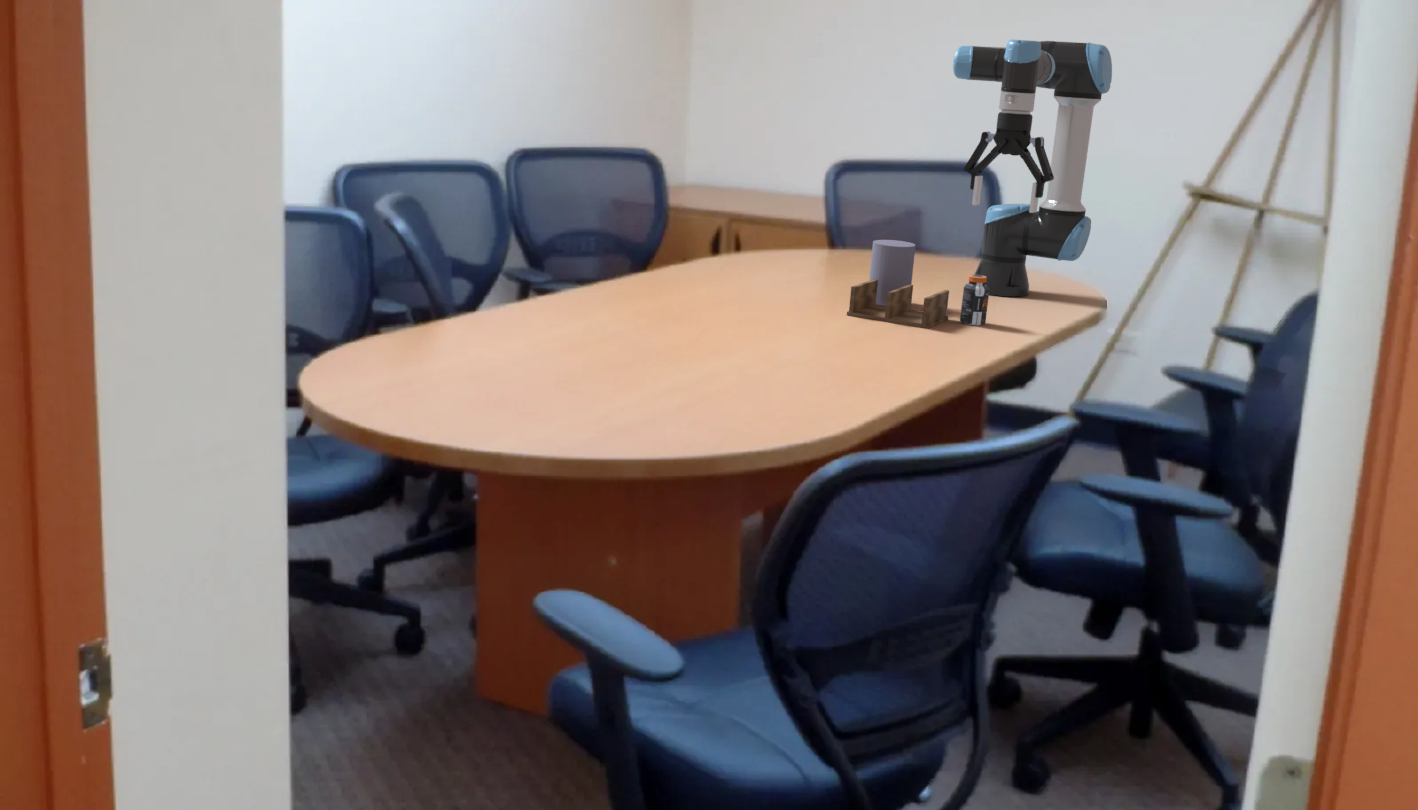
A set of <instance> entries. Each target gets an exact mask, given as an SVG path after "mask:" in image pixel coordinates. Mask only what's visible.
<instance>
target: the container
mask: <svg viewBox="0 0 1418 810" xmlns="http://www.w3.org/2000/svg"><path fill="white" fill-rule="evenodd" d="M915 253H916V244H915V243H914V242H908V241H904V240H897V239H896V240H895V239H876V240H873V241H872V249H871V261H870V269H869V279H868V281H870V280H873V279H877V280H878V287H877V297H876V304H878V305H884V306H886V300H887V292H890V291H893V290H896V289H898V288H901V287H904V286H907V285H913V284H912V283H913V274H914V265H915V263H914V262H915Z"/></svg>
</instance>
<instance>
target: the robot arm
mask: <svg viewBox="0 0 1418 810" xmlns="http://www.w3.org/2000/svg"><path fill="white" fill-rule="evenodd" d="M952 69H953V70H952V71H953V74H954V76H955V77H956V78H957V79H959V80H960V79H961V80H967V81H969V80H970V81H979V82H980V81H982V82H998V83H1001V86H1000V95H999V102H998V103H999V104H998V109H999V110H1000V112H999V113H997V119H996V131H995V133H992V132H990V131H983V132H982V133H981V136H980V141H979V143H978V144H977V145H976V148H975V149H974V151H973V153H972V154H971V156H970V158H969V159H968V161H967V163H966V164H965V166H964V168H963V171H964V172H967V173H969V174H970V175H971V176H970V178H971V179H970V187H969V188H970V190H973V192H972V200H971V201H972V202H971V205H972V206H979V205H980V204H981V203H980V202H981V196H982V189H983V178H984V176H983V175H981V174H982V172H983V171H984V170H986V168H987V167H988V166H989V165H990V164H991V163H992V162H993V161H994V160H995V159H996V158H997V157H998V156H999V155H1001V154H1002V155H1005V156H1006V155H1010V156H1020V158H1021V159H1022V161H1023V162H1024V163H1025V165H1026V167H1027V168H1028V170H1029V172H1030V173H1031V175H1032V176H1033V178H1034V179H1035V182H1032V186H1031V187H1032V188H1031V194H1030V202H1029V203H1006V204H1005V203H1003V204H996V205H991V206H990V207H988V208H987V210H986V216H985V221H984V223H983V224H984V227H983V229H984V230H983V236H982V246H981V255H980V261H979V263H978V265H977V267H976V270H975V272H974V274H973V275H982V276H986V277H987V280H986V285H987V286H988V287H989V296H999V297H1025V296H1028V295H1029V292H1030V282H1029V277H1028V272H1027V268H1026V262H1027V256H1030V257H1035V258H1044V259H1050V260H1051V259H1052V260H1057V261H1067V262H1073V261H1077V260H1078V259H1080V257H1081V256H1082V254H1083V252H1084V250H1085V249H1086V246H1087V243H1088V240H1089V237H1090V233H1091V228H1092V219H1091V218H1090V217H1089V216H1086V211H1087V209H1086V207H1085V206H1084V205H1083V204H1082V194H1083V187H1084V182H1085V181H1084V180H1085V175H1086V174H1085V172H1086V166H1087V158H1088V151H1089V145H1090V144H1089V143H1090V138H1091V137H1090V136H1091V131H1092V130H1091V128H1092V122H1093V116H1094V115H1093V114H1094V108H1095V106H1096V105H1097V104H1099V102H1101V100H1102V94H1103V95H1104V94H1107V93H1108V92H1109V91H1110V88H1111V83H1112V79H1113V77H1112V76H1113V65H1112V57H1111V53H1110V51H1109V49H1108V48H1107V46H1106V45H1103V44H1097V43H1092V42H1074V41H1073V42H1072V41H1054V40H1041V41H1037V40H1026V39H1025V40H1024V39H1009V40H1008V41H1007V43H1006V47H1005V46H1003V47H1002V46H980V45H979V46H977V45H960V46H958V48H957V49H956V50H955V53H954V56H953V62H952ZM1037 88H1040V89H1041V88H1042V89H1047V90H1048V89H1049V90H1054V91H1053V98H1054V100H1055V101H1056V102H1057V103H1058V106H1057V107H1058V109H1057V114H1056V115H1057V116H1056V121H1055V122H1056V123H1055V132H1054V137H1053V138H1054V139H1053V145H1052V152H1051V161H1049V159H1048V156H1047V152H1046V149H1045V138H1044V137H1043V136H1037V137H1031V133H1032V132H1031V131H1032V125H1033V114H1031V113H1032V112H1034V111H1035V109H1034V108H1035V99H1036V91H1037ZM992 141H994V143H995V146H994V147H993V148H992V149H991V150H990V152H989V153H988V154H987V155H985V157H984V158H983V159H982V160H981V161H980V162H979V160H980V158H981V157H982V155H983V154H984V152H985V151H986V149H987V147H988V145H989V144H990V143H991V142H992ZM1030 145H1032V147H1033V148H1034V149H1035V150H1034V151H1035V153H1036V157H1037V159H1038V160H1037V161H1038V162H1039V166H1040V167H1039V166H1038V165H1037V163H1036V161H1035V160H1034V158H1033V156H1032V155H1031V151H1030V150H1029V148H1028V147H1029V146H1030ZM1040 168H1041V169H1040ZM1046 183H1048V184H1047V193H1046V199H1045V200H1044V201H1043V202H1041V203H1040V204H1038V203H1039V199H1041V198H1043V196H1044V188H1045V184H1046ZM1038 205H1039V207H1038Z"/></svg>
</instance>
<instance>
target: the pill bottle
mask: <svg viewBox="0 0 1418 810" xmlns="http://www.w3.org/2000/svg"><path fill="white" fill-rule="evenodd" d="M986 280H987V277H986V276H982V275H974V274H969V276H968V283H966V284H964V286H963V293H962V299H961V307H960V308H961V309H960V318H959V322H960V323H961V324H964V325H967V326H984V325H985V324H986V321H987V320H986V319H987V314H988V313H987V312H988V304H989V297H990V295H989V287H988V286H987V285H986Z"/></svg>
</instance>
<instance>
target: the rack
mask: <svg viewBox="0 0 1418 810" xmlns="http://www.w3.org/2000/svg"><path fill="white" fill-rule="evenodd" d="M877 287H878V280H877V279H873V280H870V281H869V280H868V281H865V282H861V283H859V284H856V285H852V286H850V294H849V295H850V296H849V307H848V308H849V309H848V311H846V316H850V317H856V318H862V319H868V320H874V321H879V322H886V323H891V324H897V325H898V324H899V325H903V326H910V327H916V328H922V329H931V328H932V327H934V326H937V325H938V324H941V323H943V322H946V321H947V320H949V315H947V313H948V306H949V304H948V303H949V295H950V290H947V289H943V290H941V291H939V292H937V293H934V294H932V295H929V296H927V297H924V299H923V306H922V307H923V308H922V311H919V310H916V309H915V310H913V309H912V301H913V292H914V284H911V285H907V286H904V287H901V288H898V289H896V290H893V291H890V292H887V300H886V306H884V305H878V304H876V297H877Z"/></svg>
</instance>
